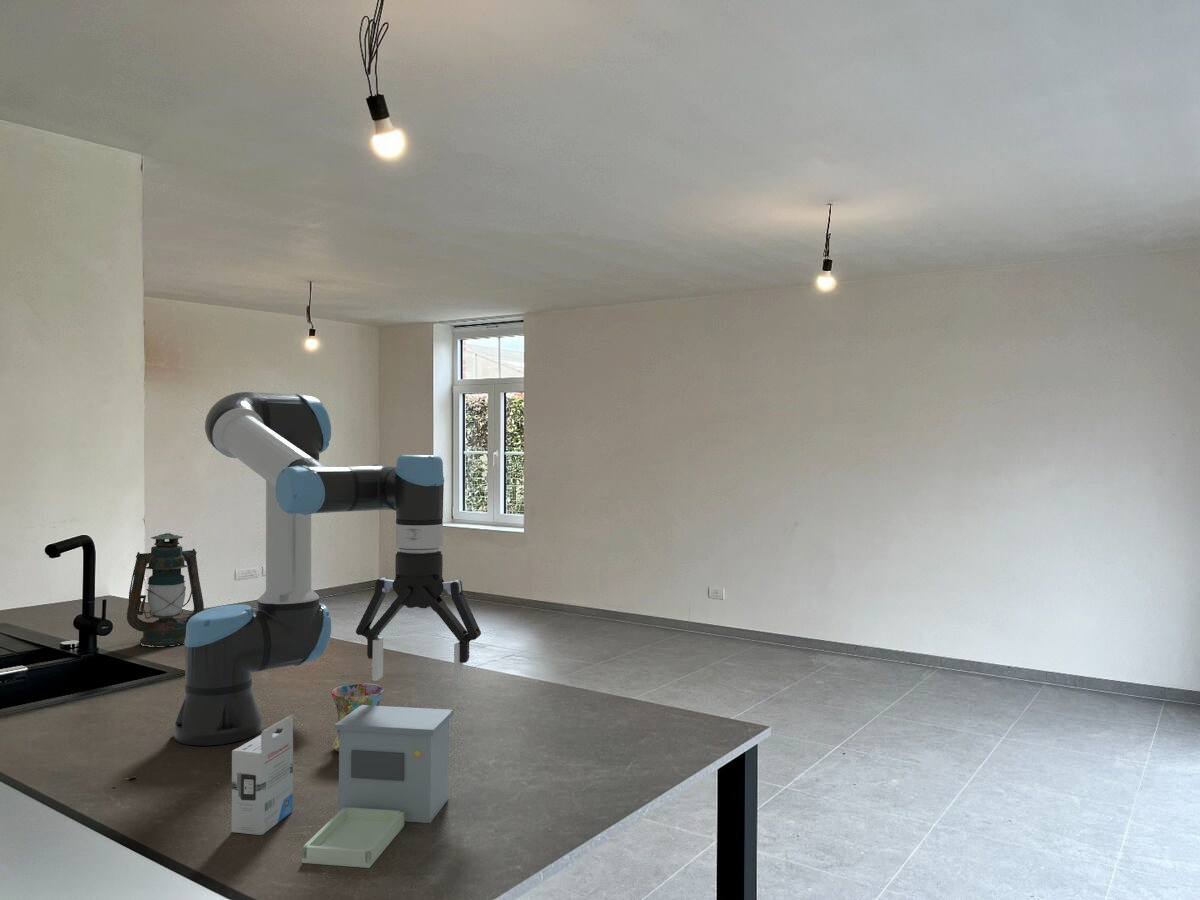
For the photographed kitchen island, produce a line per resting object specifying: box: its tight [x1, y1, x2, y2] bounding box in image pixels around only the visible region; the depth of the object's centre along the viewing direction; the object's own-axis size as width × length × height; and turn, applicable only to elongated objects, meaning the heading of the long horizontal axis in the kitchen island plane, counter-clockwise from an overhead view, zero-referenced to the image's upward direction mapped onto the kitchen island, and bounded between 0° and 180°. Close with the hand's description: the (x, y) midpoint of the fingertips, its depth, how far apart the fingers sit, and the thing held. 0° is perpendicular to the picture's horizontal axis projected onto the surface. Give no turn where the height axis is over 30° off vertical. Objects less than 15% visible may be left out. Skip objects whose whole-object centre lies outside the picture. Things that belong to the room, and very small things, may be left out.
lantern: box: [126, 532, 205, 646], centre depth 246 cm, size 19×14×30 cm
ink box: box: [231, 714, 294, 836], centre depth 131 cm, size 9×5×15 cm, turn 168°
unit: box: [334, 705, 454, 824], centre depth 137 cm, size 15×10×14 cm, turn 83°
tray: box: [301, 807, 405, 869], centre depth 125 cm, size 9×13×2 cm
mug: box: [330, 683, 385, 752], centre depth 164 cm, size 12×9×11 cm
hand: (417, 680), depth 147 cm, fingers open, 13 cm apart
